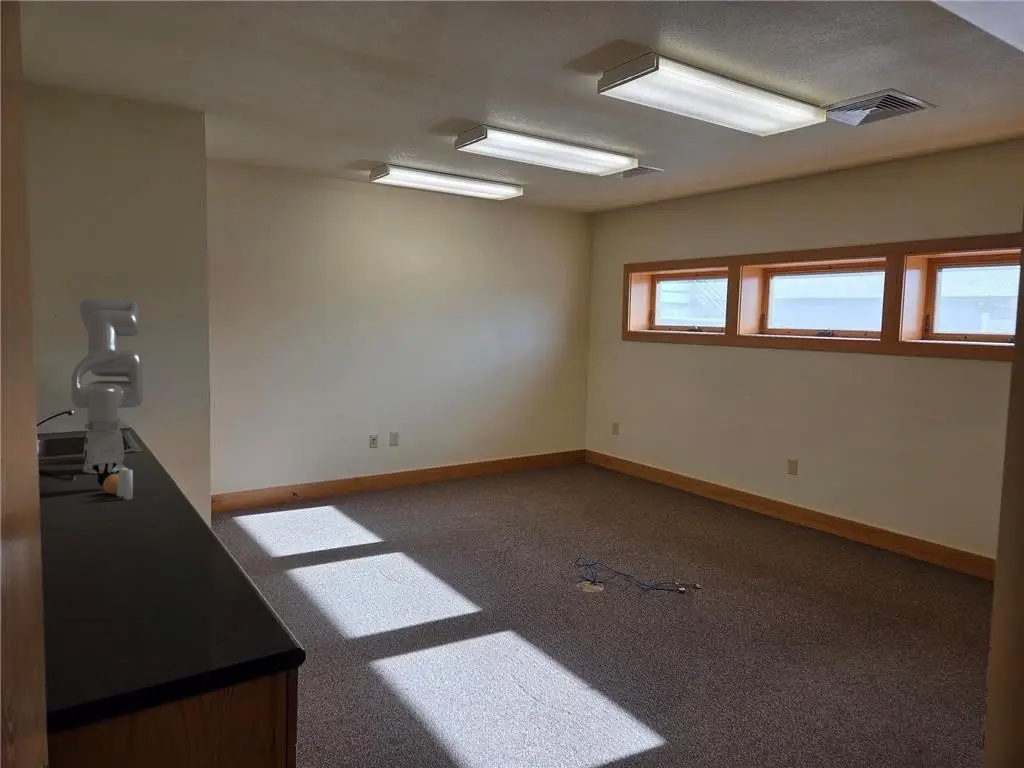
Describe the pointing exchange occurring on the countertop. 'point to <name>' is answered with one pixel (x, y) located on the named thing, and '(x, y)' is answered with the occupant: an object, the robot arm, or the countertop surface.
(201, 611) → the countertop surface
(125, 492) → the pin
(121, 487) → the pin
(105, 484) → the ball
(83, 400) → the robot arm
